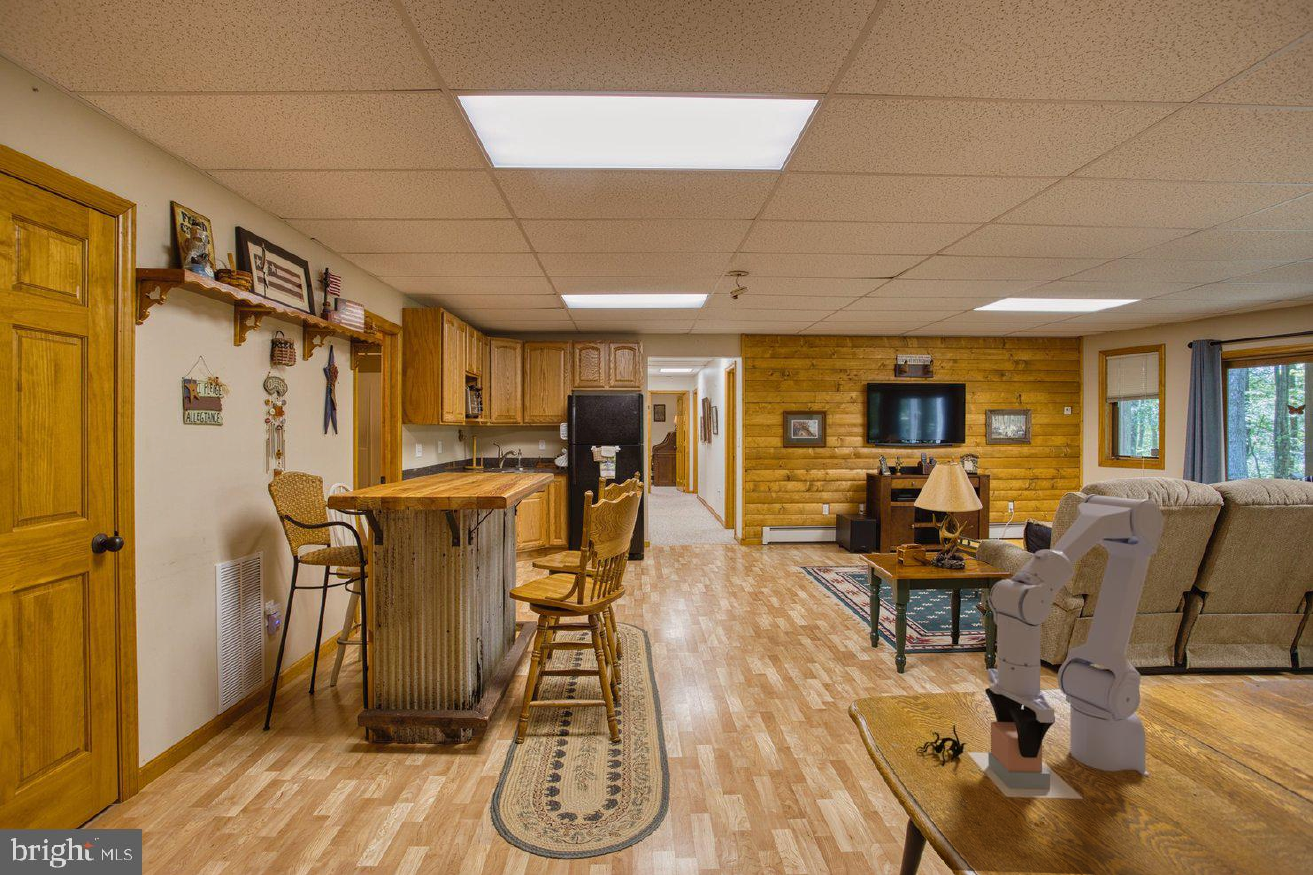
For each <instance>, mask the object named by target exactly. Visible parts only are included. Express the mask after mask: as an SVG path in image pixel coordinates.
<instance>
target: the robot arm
mask: <svg viewBox="0 0 1313 875" xmlns="http://www.w3.org/2000/svg"><path fill="white" fill-rule="evenodd" d="M1075 513H1076V515H1075V516H1076V519H1075V520H1074V521H1073V522H1072V524H1071V525H1070V527H1068V529H1067V530H1066V532H1065V533H1064V534H1062V536H1061V538H1059V540H1058V541H1057V542H1056V544H1055V545H1054V546H1053V547H1052V549H1039V550H1037V551H1036V552H1034V554H1033V555H1032V557H1031V558H1030V559H1029V560H1028V561H1027V562H1026V563H1025V564H1024V565H1023V566H1021V567H1020V568H1019V570H1018V571H1017V572H1016V573H1015V574H1014V575H1013V576H1011V578H1010V579H1009V578H1005V579H1001V580H999V581H997V582H995V583H994V584H993V586H992V588H991V590H990V593H989V595H988V596H987V602H988V606H989V608H990V609H991V611H992V613H993V622H994V624H995V625H996V631H997V632H996V634H997V636H996V637H997V638H996V643H997V644H996V646H997V647H996V652H997V653H996V654H997V656H996V659H997V660H996V663H997V664H996V666H997V668H987V681H988V682H990V683H991V684H989V687H987V688H985V694H986V696H987V698H988V699H989V702H990V705H991V706H992V708H993V712H994V716H995V719H996V722H1015V726H1016V730H1017V735H1018V745H1019V750H1020V754H1021V756H1022V757H1024V758H1037V755H1038V752H1039V749H1040V746H1041V743H1042V744H1043V741H1044V738H1045V737H1046V736H1045V735H1046V734H1047V732H1048V731H1049V729H1050V728H1051V727H1052V726H1053V724H1054V723H1055V722H1056V719H1055V709H1054V708H1053V707H1051V705H1050V704H1049V702H1048V701H1047V699H1046V697H1045V695H1044V694H1043V691H1042V690H1041V624H1042V623H1043V622H1045V621H1046V620H1047V619H1048V618H1049V616H1050V614H1051V609H1052V605H1053V604H1054V603H1055V599H1056V598H1055V596H1056V594H1058V593H1059V592H1060V591H1061V590H1062V588H1064V587H1065V586H1066V585H1067V584H1068V582H1070V580H1072V578H1073V577H1074V575H1075V569H1074V566H1073V565H1074V564H1075V563H1076V562H1078V561H1079V560H1080V559H1081V558H1082V557H1083V556H1085V555H1086V554H1087V553H1088V552H1090V551H1091V550H1092V549H1093V548H1094V547H1095V546H1097V545H1100V546H1102V547H1103V548H1105V549H1106V551H1107V553H1108V560H1107V562H1106V567H1105V570H1104V576H1103V579H1102V583H1101V585H1100V586H1101V587H1100V590H1099V594H1098V597H1097V601H1096V605H1095V609H1094V613H1093V616H1092V620H1091V623H1090V628H1089V632H1088V635H1087V639H1086V642H1085V643H1084V644H1081V645H1079V646H1077V647H1074V648H1071V649H1069V650H1068V652H1067V656H1066V659H1065V660H1064V661H1063V663H1062V664H1061V666H1060V667H1059V669H1058V672H1057V685H1058V688H1059V690H1060V691H1061V692H1062V694H1064V695H1065V701H1066V702H1067V703H1069V704H1070V706H1069V708H1070V709H1069V710H1070V714H1069V715H1070V717H1069V718H1070V719H1069V721H1070V725H1069V726H1070V727H1069V728H1070V730H1069V731H1070V733H1069V734H1070V735H1069V736H1070V737H1069V740H1070V742H1069V744H1070V746H1069V747H1070V748H1069V749H1070V750H1069V751H1070V755H1071V757H1073V758H1074V759H1075V761H1078V762H1080V763H1081V764H1083V765H1086V766H1088V767H1091V768H1093V769H1098V770H1101V771H1106V772H1107V771H1108V772H1118V771H1125V770H1126V771H1127V770H1131V771H1133V770H1136V771H1138V772H1139V773H1140V774H1142V775H1143V776H1145V777H1146V778H1148V777H1150V773H1149V772H1148V771H1146V750H1147V749H1146V746H1147V745H1146V738H1147V737H1146V731H1145V728H1144V725H1143V723H1142V721H1141V718H1139V716H1138V715H1137V714H1136V711H1138V708H1139V706H1140V703H1141V693H1140V685H1141V684H1140V683H1141V678H1142V675H1141V674H1140V672H1138V670H1137V669H1136V668H1135V666H1134V665H1132V663H1131V662H1130V661H1129V660H1128V659H1127V657H1126V653H1127V650H1128V646H1129V643H1130V640H1131V635H1132V631H1133V627H1134V623H1135V620H1136V614H1137V613H1138V612H1137V611H1138V607H1139V605H1140V599H1141V596H1142V592H1143V588H1144V584H1145V581H1146V580H1145V579H1146V576H1147V574H1148V568H1149V566H1150V561H1151V557H1152V555H1155V554H1157V552H1158V549H1159V545H1160V542H1161V538H1162V534H1163V530H1164V525H1165V522H1166V520H1165V518H1164V516H1163V513H1162V511H1161V509H1160V507H1159V505H1158V504H1157V503H1156V502H1155V501H1154V500H1152V499H1148V498H1145V499H1138V498H1127V497H1119V496H1118V497H1117V496H1106V495H1100V494H1096V493H1095V494H1094V493H1092V494H1088V495H1086V496H1085V497H1084V498H1083V499H1082V501H1081V502H1080V503H1079V504H1078V505H1077V506H1076V511H1075ZM1093 665H1097V666H1101V667H1103V668H1106V669H1108V670H1110V671H1111V672H1110V671H1107V670H1105V669H1101V668H1099V667H1095V666H1093ZM992 683H993V684H992ZM1022 707H1023V708H1022Z"/></svg>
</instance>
